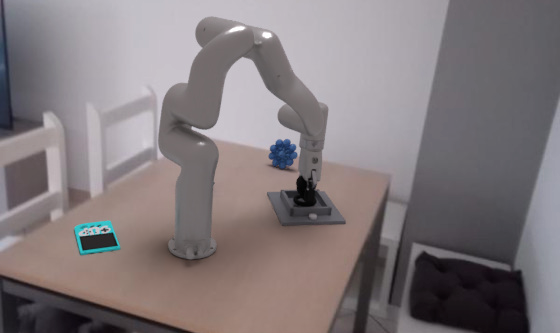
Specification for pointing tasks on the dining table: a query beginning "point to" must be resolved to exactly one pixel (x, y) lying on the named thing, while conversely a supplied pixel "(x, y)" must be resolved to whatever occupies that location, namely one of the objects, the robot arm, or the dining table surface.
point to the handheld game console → (96, 237)
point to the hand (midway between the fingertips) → (305, 195)
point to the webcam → (302, 193)
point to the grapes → (283, 153)
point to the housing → (304, 209)
